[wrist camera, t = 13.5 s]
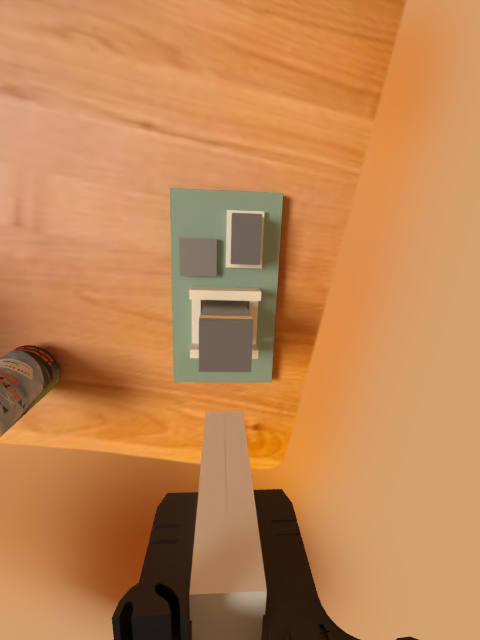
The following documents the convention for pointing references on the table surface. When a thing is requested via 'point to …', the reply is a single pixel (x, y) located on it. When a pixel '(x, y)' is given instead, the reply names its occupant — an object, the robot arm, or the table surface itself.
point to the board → (224, 271)
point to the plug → (225, 337)
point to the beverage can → (24, 382)
